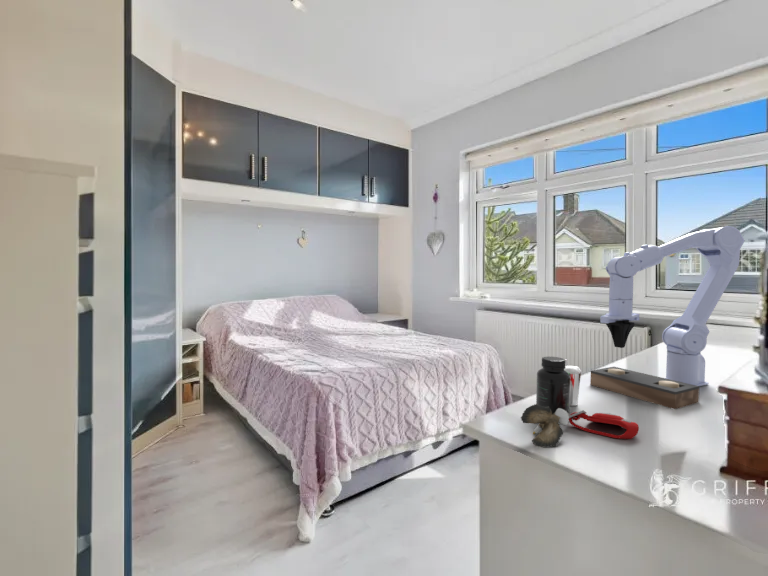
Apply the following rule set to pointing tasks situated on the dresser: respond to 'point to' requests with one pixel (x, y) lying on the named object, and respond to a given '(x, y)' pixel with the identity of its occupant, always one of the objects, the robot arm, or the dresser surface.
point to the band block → (646, 387)
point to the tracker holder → (609, 419)
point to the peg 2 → (669, 384)
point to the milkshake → (573, 382)
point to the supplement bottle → (553, 384)
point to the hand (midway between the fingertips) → (619, 347)
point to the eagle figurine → (545, 424)
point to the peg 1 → (616, 371)
